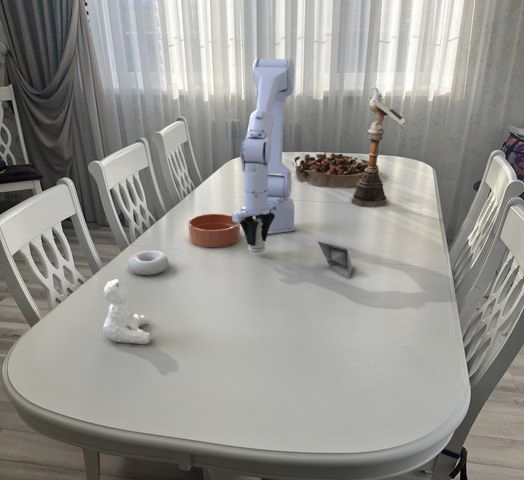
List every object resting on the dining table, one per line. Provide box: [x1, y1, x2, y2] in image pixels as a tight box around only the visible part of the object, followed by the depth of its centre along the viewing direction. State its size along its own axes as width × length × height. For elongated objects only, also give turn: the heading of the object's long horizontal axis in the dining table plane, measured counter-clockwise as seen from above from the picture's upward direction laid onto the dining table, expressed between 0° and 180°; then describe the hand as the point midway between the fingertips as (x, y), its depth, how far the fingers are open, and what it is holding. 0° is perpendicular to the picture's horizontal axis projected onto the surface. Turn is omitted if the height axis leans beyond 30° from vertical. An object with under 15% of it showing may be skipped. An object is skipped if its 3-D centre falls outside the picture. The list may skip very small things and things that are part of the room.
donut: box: [127, 250, 170, 276], centre depth 135 cm, size 10×4×10 cm
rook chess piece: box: [247, 217, 266, 254], centre depth 140 cm, size 4×4×8 cm
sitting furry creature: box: [102, 278, 151, 345], centre depth 105 cm, size 10×9×12 cm
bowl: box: [187, 213, 241, 248], centre depth 152 cm, size 14×14×5 cm
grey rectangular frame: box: [317, 241, 353, 279], centre depth 134 cm, size 12×6×9 cm
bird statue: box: [351, 86, 407, 208], centre depth 173 cm, size 17×13×35 cm
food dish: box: [291, 152, 380, 188], centre depth 209 cm, size 35×33×8 cm
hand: (256, 242), depth 141 cm, fingers closed on rook chess piece, 3 cm apart
